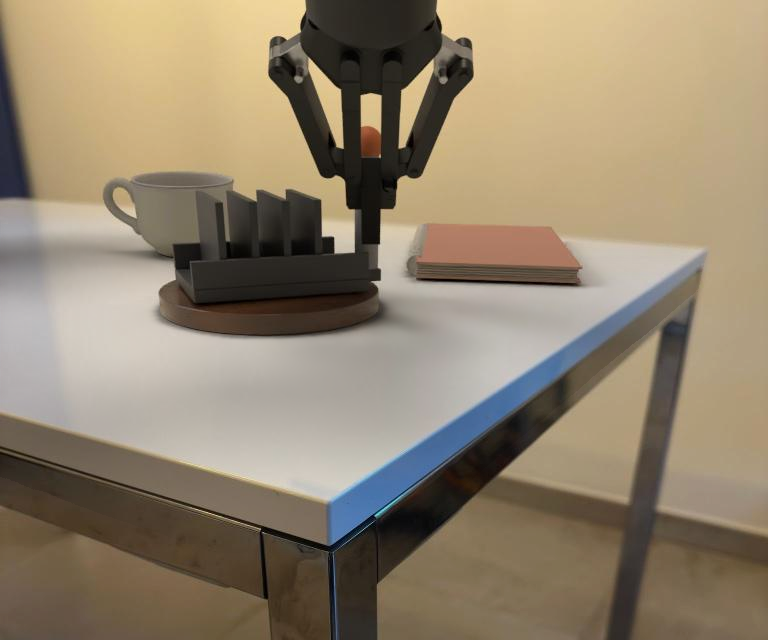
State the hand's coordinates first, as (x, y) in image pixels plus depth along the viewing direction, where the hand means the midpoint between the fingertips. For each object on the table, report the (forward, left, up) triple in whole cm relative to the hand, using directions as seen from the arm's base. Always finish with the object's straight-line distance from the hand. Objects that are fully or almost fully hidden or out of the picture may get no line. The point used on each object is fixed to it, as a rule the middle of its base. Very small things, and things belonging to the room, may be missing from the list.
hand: (370, 230), depth 63 cm
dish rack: (-6, -4, -4) cm, 8 cm away
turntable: (-6, -5, -6) cm, 10 cm away
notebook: (-2, +27, -6) cm, 27 cm away
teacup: (-31, +8, -6) cm, 33 cm away
